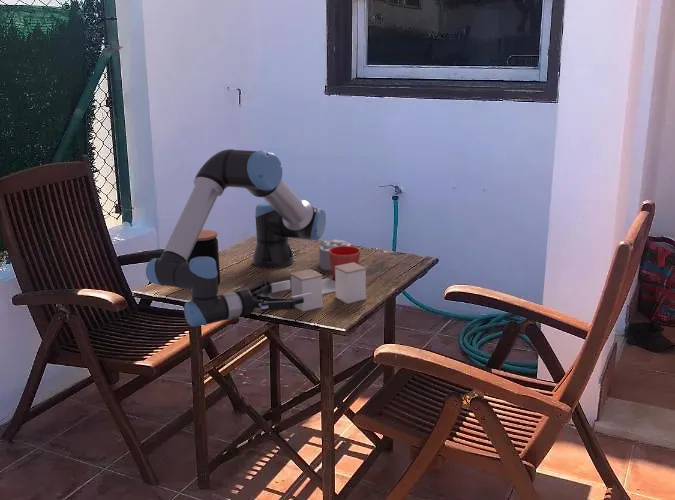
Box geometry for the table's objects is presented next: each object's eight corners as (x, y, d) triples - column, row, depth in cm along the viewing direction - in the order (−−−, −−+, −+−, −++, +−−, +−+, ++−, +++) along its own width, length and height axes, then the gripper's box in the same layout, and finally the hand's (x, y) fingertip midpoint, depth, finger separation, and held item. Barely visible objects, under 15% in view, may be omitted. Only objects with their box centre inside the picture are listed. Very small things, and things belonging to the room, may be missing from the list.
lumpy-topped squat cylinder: (354, 261, 271) (354, 239, 269) (339, 271, 260) (338, 248, 258) (329, 258, 276) (329, 236, 273) (313, 268, 265) (312, 245, 262)
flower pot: (357, 282, 249) (357, 255, 246) (326, 280, 251) (325, 254, 248) (362, 272, 258) (362, 246, 256) (332, 271, 261) (332, 245, 258)
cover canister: (291, 304, 229) (290, 273, 226) (311, 300, 233) (310, 268, 230) (302, 311, 223) (301, 279, 220) (323, 306, 227) (322, 275, 224)
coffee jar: (226, 281, 252) (223, 231, 246) (211, 291, 242) (207, 239, 237) (198, 278, 255) (195, 228, 250) (183, 288, 245) (178, 236, 240)
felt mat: (298, 285, 246) (298, 284, 246) (328, 279, 252) (328, 278, 252) (316, 295, 236) (316, 294, 236) (347, 288, 243) (347, 287, 242)
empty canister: (334, 297, 235) (334, 266, 232) (353, 292, 239) (353, 262, 236) (347, 303, 229) (346, 272, 226) (366, 299, 233) (366, 268, 230)
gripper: (221, 303, 225) (281, 290, 236) (256, 329, 205) (321, 314, 216) (219, 280, 223) (281, 268, 234) (255, 305, 203) (320, 290, 214)
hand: (300, 290), depth 225 cm, fingers open, 13 cm apart
